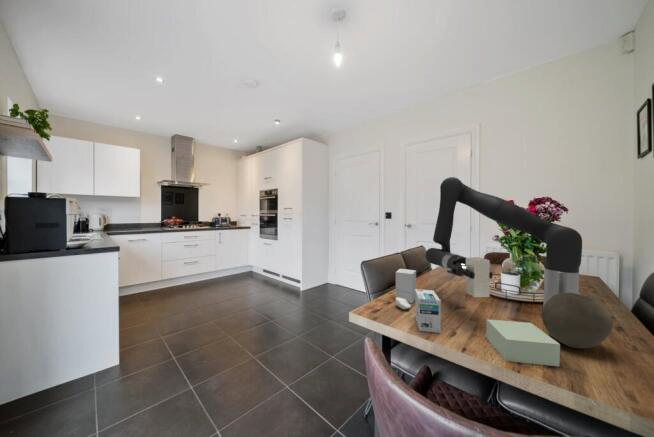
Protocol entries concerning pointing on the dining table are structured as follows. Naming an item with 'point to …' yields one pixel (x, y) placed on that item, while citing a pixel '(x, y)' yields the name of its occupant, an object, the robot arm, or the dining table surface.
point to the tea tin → (478, 277)
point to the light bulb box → (427, 311)
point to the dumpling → (402, 303)
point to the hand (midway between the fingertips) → (482, 275)
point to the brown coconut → (576, 320)
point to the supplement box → (406, 284)
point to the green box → (522, 342)
